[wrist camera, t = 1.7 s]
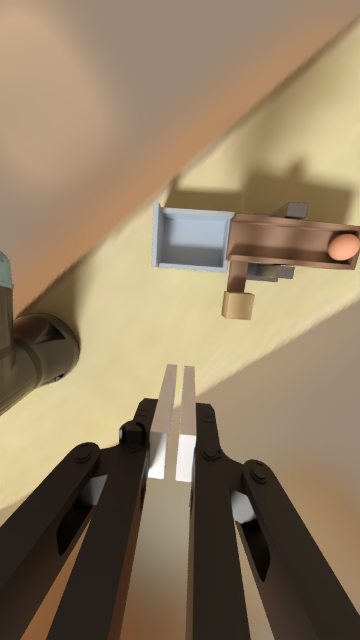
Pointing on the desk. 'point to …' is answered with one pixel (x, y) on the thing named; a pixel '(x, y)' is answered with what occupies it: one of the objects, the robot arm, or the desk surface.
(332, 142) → the desk surface
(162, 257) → the bin
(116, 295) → the desk surface
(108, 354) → the desk surface
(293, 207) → the fulcrum
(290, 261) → the lever
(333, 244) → the ball
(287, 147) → the desk surface
